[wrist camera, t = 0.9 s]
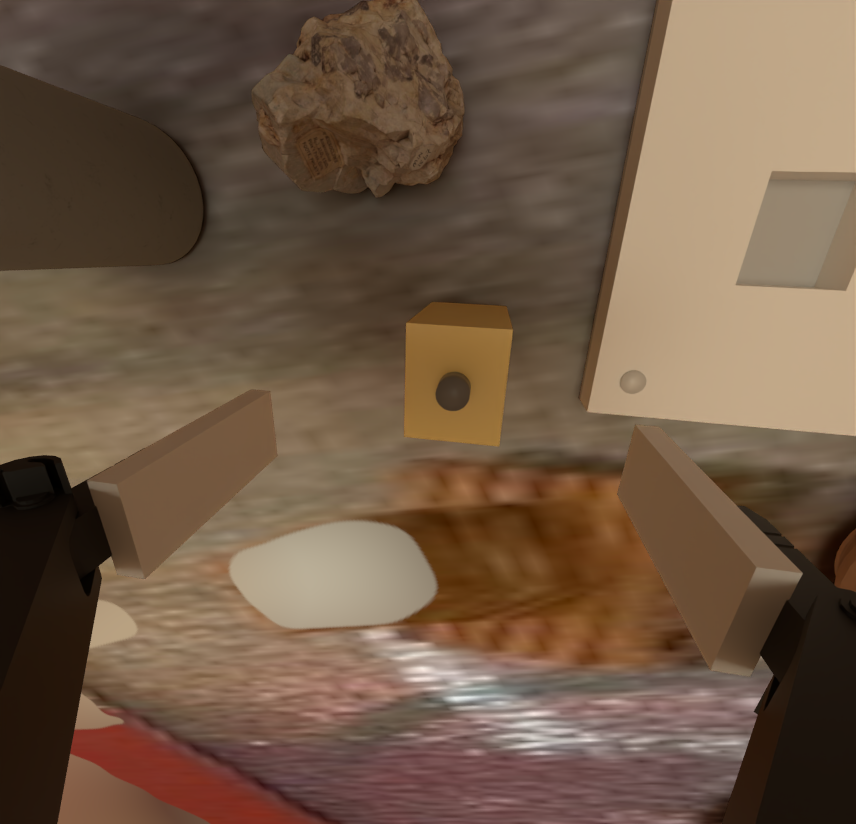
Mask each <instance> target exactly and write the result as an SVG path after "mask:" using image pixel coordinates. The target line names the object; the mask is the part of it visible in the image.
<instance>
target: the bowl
mask: <svg viewBox="0 0 856 824" xmlns="http://www.w3.org/2000/svg"><path fill="white" fill-rule="evenodd" d="M834 568H835V575H836V578H835V583H834V585H835V586H836V587H837V588H842V589H847V590H852V591H854V592H856V529H855V530H853V531H852V532H851V533H850V534H849V535H848V537H847V538H846V539H845V540H844V541H843V542H842V544H841V546H840V548H839V550H838V552H837V554H836V558H835V562H834Z"/></svg>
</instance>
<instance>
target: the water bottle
mask: <svg viewBox="0 0 856 824" xmlns="http://www.w3.org/2000/svg"><path fill="white" fill-rule="evenodd" d="M202 221H203V200H202V193H201V189H200V186H199V183H198V179H197V177H196V175H195V173H194V170H193V168H192V166H191V164H190V162H189V161H188V159H187V158H186V156H185V155H184V153H183V152H182V150H181V149H180V148H179V147H178V146H177V144H176V143H175V142H174V141H173V140H172V139H171V138H170V137H169V136H168V135H166V134H165V133H164V132H162V131H161V130H160V129H158V128H157V127H156V126H154V125H152V124H150V123H148V122H146V121H144V120H142V119H140V118H137V117H135V116H132V115H129V114H127V113H124V112H121V111H119V110H116V109H114V108H111V107H108V106H106V105H103V104H101V103H98V102H95V101H93V100H90V99H88V98H85V97H82V96H80V95H77V94H74V93H72V92H69V91H67V90H64V89H61V88H59V87H56V86H54V85H51V84H48V83H46V82H43V81H41V80H38V79H35V78H33V77H30V76H27V75H25V74H22V73H20V72H17V71H14V70H12V69H9V68H7V67H4V66H1V65H0V271H7V270H35V269H63V268H92V267H120V266H148V265H163V264H168V263H171V262H174V261H176V260H178V259H180V258H182V257H183V256H184V255H185V254H187V253H188V252H189V251H190V249H191V248H192V247H193V245H194V244H195V242H196V241H197V238H198V236H199V233H200V231H201V227H202Z"/></svg>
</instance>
